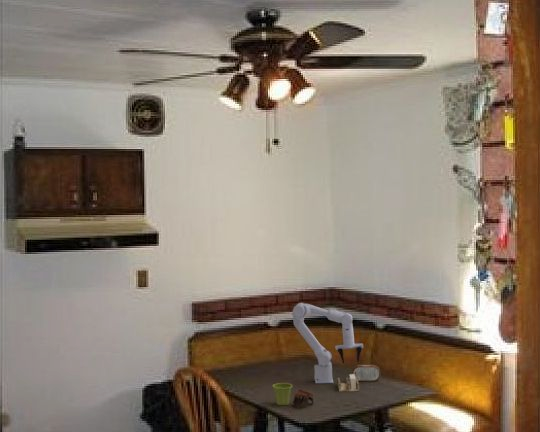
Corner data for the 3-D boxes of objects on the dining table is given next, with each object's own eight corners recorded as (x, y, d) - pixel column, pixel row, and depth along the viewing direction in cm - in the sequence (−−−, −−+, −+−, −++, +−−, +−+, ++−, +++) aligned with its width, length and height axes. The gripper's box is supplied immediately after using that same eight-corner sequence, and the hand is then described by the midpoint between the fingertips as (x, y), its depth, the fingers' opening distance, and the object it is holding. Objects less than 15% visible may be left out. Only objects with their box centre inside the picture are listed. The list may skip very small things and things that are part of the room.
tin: (380, 380, 344) (380, 364, 344) (381, 381, 341) (380, 365, 341) (352, 380, 346) (351, 364, 346) (352, 381, 343) (351, 365, 343)
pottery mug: (288, 405, 307) (294, 388, 309) (306, 412, 308) (312, 395, 311) (295, 405, 296) (301, 388, 298) (314, 413, 297) (320, 396, 299)
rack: (339, 391, 325) (339, 383, 325) (337, 384, 337) (337, 377, 337) (359, 390, 325) (359, 383, 325) (357, 384, 337) (356, 377, 337)
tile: (351, 388, 326) (350, 378, 326) (349, 383, 335) (349, 374, 335) (356, 388, 326) (355, 378, 326) (354, 383, 335) (354, 374, 335)
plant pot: (279, 399, 314) (278, 381, 313) (296, 402, 309) (295, 384, 309) (269, 405, 306) (268, 386, 305) (286, 407, 301) (286, 389, 301)
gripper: (335, 339, 338) (337, 365, 338) (363, 336, 337) (365, 362, 337) (334, 336, 345) (336, 362, 345) (361, 334, 344) (363, 359, 344)
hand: (350, 362), depth 342 cm, fingers open, 7 cm apart
